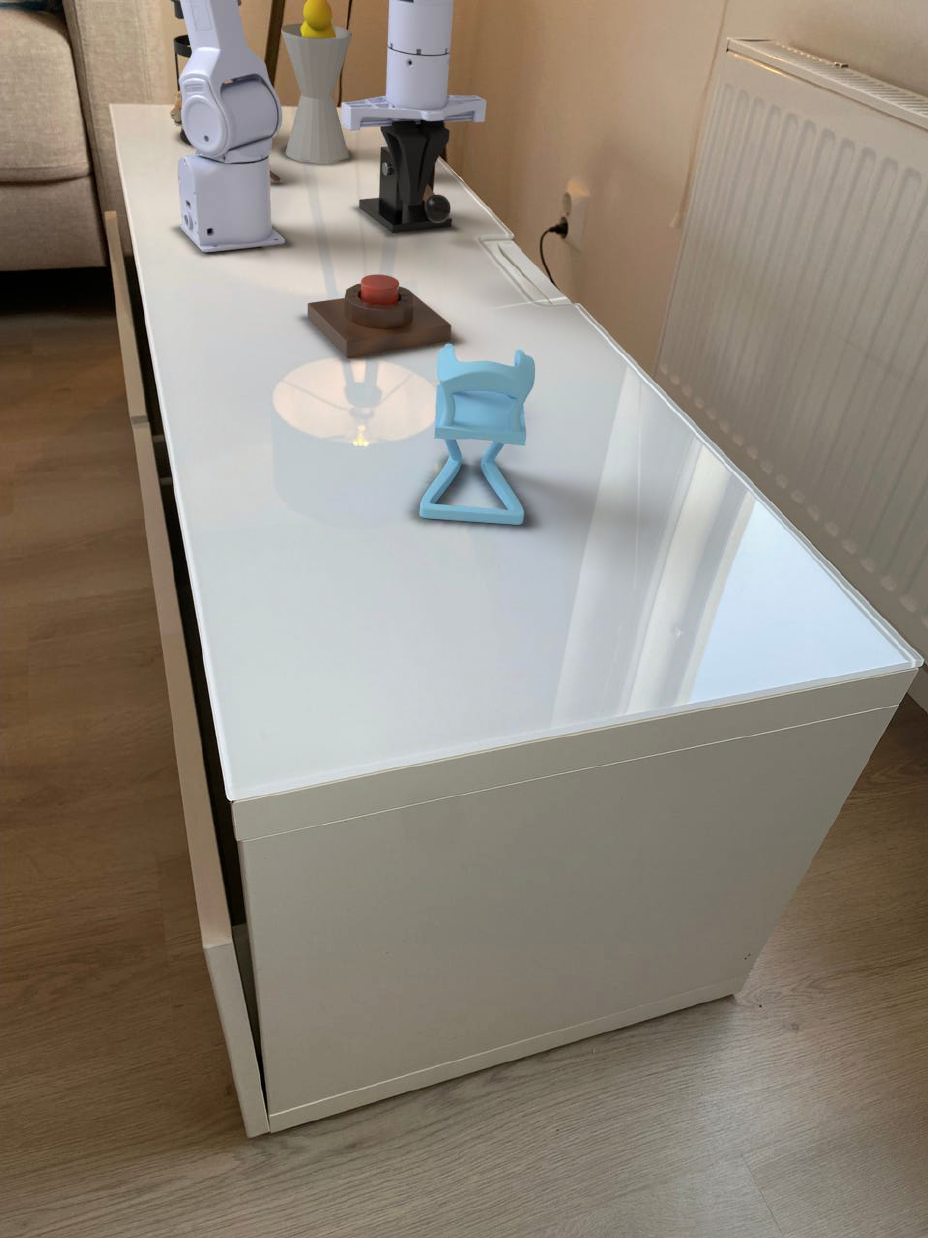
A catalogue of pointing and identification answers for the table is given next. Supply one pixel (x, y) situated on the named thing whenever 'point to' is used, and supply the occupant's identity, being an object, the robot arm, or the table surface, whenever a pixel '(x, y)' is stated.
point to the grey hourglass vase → (316, 84)
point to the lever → (436, 206)
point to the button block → (377, 323)
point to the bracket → (397, 202)
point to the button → (379, 289)
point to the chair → (479, 428)
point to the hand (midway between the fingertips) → (410, 201)
